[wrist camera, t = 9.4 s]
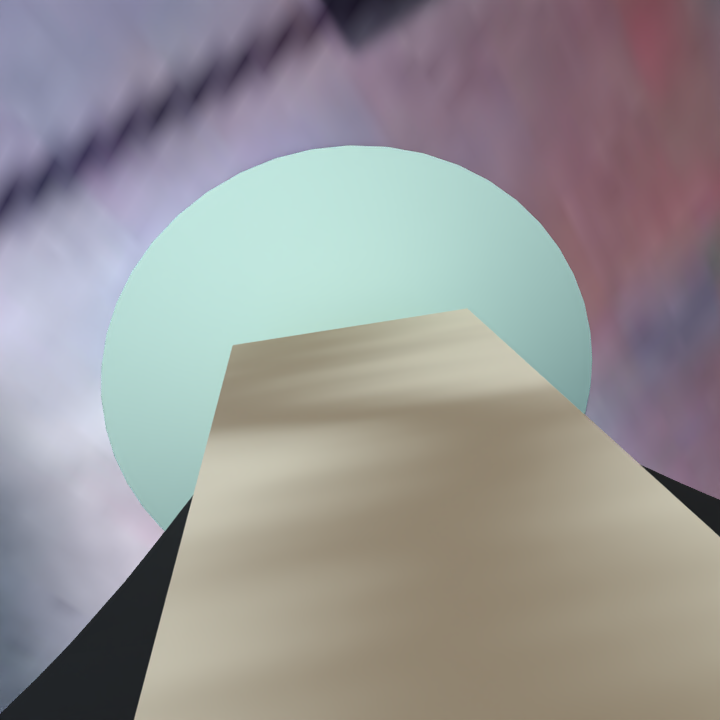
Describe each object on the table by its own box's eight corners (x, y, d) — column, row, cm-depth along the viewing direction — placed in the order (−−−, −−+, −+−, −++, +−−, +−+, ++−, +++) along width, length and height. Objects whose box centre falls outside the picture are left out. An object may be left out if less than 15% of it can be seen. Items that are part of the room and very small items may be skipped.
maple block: (275, 537, 12) (260, 1176, 5) (232, 344, 10) (95, 867, 3) (476, 500, 12) (766, 1041, 5) (467, 308, 11) (890, 691, 3)
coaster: (294, 645, 15) (294, 660, 15) (-8, 339, 11) (-20, 347, 11) (643, 443, 14) (655, 453, 14) (450, 26, 10) (457, 21, 10)
